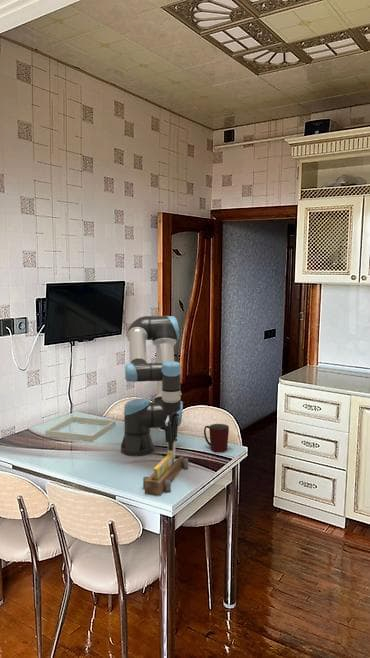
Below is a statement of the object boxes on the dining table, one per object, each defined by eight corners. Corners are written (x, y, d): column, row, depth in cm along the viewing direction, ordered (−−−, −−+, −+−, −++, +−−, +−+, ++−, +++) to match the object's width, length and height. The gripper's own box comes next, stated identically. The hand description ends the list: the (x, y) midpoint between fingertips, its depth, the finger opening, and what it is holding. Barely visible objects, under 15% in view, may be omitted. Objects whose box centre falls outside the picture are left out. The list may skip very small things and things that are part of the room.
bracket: (138, 492, 183) (138, 479, 183) (164, 464, 210) (164, 453, 210) (166, 496, 180) (166, 483, 180) (188, 467, 207) (188, 456, 207)
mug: (199, 450, 228) (199, 426, 227) (208, 444, 235) (208, 421, 234) (223, 454, 222) (223, 430, 221) (231, 448, 230) (231, 425, 228)
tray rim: (45, 436, 246) (45, 430, 246) (72, 421, 271) (72, 416, 270) (92, 441, 239) (92, 435, 238) (115, 426, 263) (115, 420, 263)
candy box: (168, 472, 202) (168, 453, 201) (173, 473, 201) (173, 453, 200) (153, 489, 187) (153, 467, 186) (158, 489, 186) (158, 468, 185)
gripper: (175, 405, 192) (175, 464, 194) (185, 397, 204) (185, 452, 207) (156, 403, 194) (157, 461, 196) (167, 395, 206) (168, 450, 209)
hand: (171, 457), depth 202 cm, fingers closed
